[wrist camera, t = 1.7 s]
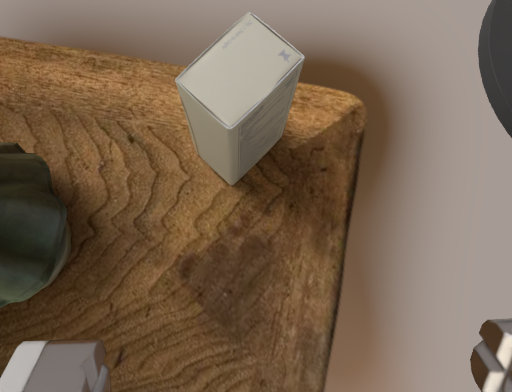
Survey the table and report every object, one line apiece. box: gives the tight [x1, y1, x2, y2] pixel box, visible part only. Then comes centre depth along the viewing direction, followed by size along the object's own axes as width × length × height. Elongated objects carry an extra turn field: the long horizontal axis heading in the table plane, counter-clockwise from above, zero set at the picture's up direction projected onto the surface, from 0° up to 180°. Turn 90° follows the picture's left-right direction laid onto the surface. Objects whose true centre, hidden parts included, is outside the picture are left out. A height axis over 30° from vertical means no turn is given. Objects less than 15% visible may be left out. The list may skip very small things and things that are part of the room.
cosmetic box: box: [175, 12, 305, 185], centre depth 29 cm, size 6×4×12 cm
